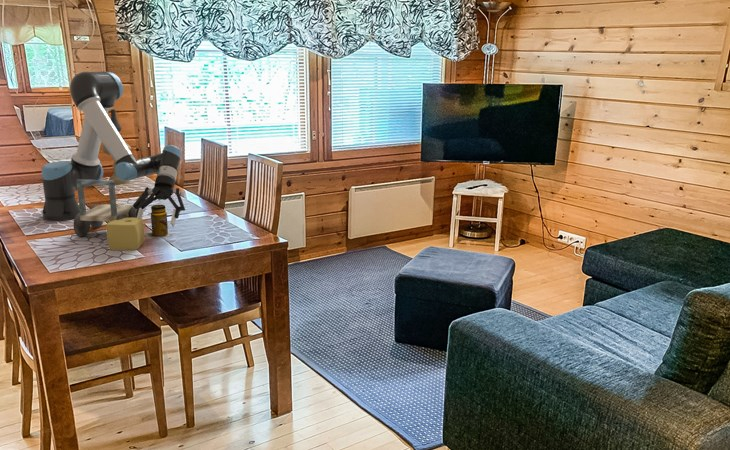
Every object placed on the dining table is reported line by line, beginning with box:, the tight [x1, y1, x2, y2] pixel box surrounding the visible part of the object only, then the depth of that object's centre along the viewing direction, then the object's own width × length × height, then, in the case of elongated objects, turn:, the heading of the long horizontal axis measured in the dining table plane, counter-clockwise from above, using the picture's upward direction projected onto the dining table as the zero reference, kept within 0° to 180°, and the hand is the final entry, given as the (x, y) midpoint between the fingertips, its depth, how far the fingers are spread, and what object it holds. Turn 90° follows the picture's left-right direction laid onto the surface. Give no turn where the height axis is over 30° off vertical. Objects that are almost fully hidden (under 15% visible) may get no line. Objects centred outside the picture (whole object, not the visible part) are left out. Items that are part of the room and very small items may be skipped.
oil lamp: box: [101, 108, 132, 185], centre depth 314 cm, size 15×15×40 cm
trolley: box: [73, 179, 137, 237], centre depth 228 cm, size 18×21×23 cm
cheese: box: [105, 217, 145, 251], centre depth 213 cm, size 10×11×10 cm
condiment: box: [144, 204, 172, 240], centre depth 227 cm, size 7×8×12 cm
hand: (155, 224), depth 225 cm, fingers open, 13 cm apart
